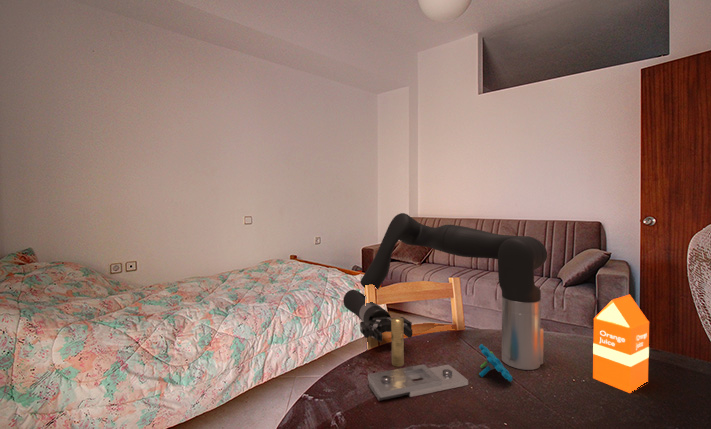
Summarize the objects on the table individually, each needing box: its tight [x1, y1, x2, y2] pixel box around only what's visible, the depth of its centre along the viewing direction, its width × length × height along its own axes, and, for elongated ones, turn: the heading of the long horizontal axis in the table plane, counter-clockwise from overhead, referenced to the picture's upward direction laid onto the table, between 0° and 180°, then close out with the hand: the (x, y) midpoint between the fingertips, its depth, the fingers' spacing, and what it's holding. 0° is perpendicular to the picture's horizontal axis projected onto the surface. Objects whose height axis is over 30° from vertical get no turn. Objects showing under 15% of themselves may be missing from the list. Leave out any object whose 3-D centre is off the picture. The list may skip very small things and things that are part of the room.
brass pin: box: [390, 316, 405, 368], centre depth 90 cm, size 3×3×12 cm
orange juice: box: [592, 294, 650, 394], centre depth 81 cm, size 8×9×20 cm
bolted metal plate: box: [367, 364, 469, 402], centre depth 80 cm, size 22×8×3 cm, turn 108°
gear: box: [478, 343, 514, 383], centre depth 84 cm, size 11×6×10 cm
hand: (396, 336), depth 91 cm, fingers open, 8 cm apart
